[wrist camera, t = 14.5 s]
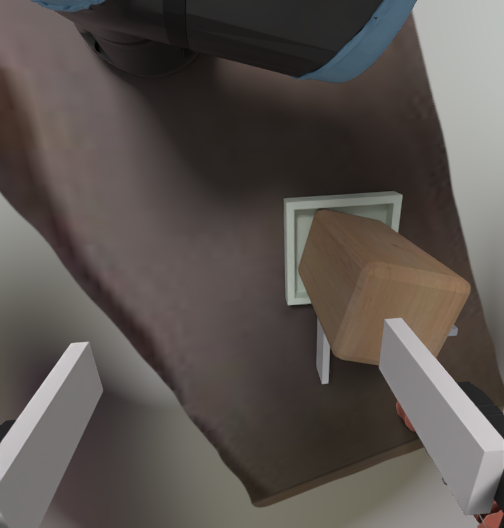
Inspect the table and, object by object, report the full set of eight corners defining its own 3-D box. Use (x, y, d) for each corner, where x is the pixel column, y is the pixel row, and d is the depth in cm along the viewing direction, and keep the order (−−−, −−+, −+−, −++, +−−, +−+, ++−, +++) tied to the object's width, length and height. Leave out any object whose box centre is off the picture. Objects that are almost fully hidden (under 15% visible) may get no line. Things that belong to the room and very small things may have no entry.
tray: (283, 198, 46) (286, 202, 44) (394, 191, 46) (402, 194, 44) (285, 296, 52) (287, 305, 50) (383, 289, 52) (390, 297, 50)
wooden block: (383, 219, 47) (480, 285, 29) (359, 283, 51) (431, 377, 33) (314, 205, 46) (370, 263, 27) (294, 271, 50) (332, 362, 31)
